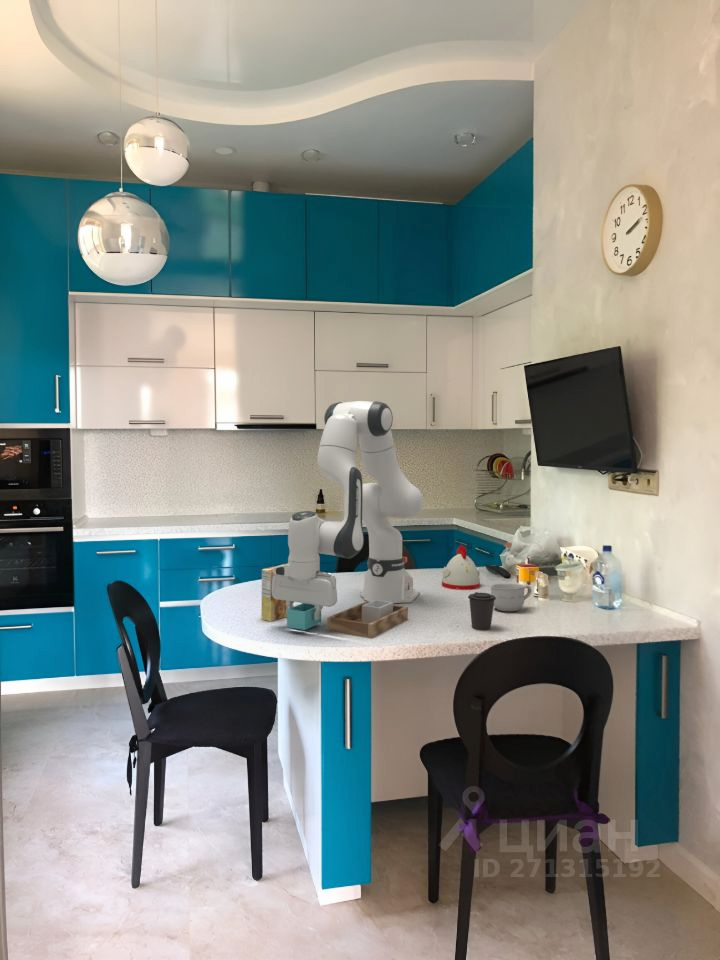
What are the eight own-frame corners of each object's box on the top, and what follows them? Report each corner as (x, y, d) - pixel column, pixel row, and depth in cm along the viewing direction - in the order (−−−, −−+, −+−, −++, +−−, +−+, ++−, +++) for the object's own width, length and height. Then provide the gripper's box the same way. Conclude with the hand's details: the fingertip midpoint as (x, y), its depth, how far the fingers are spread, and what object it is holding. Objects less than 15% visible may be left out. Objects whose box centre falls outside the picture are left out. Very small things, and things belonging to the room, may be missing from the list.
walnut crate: (366, 615, 225) (366, 601, 224) (407, 621, 218) (407, 607, 218) (327, 633, 205) (327, 617, 204) (371, 641, 198) (371, 624, 198)
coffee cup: (470, 622, 218) (471, 589, 217) (498, 625, 215) (498, 592, 214) (464, 629, 210) (464, 595, 210) (492, 632, 207) (492, 598, 207)
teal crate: (303, 619, 212) (303, 602, 212) (321, 622, 209) (321, 605, 209) (286, 627, 205) (286, 609, 204) (304, 630, 202) (304, 612, 202)
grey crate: (375, 616, 221) (375, 599, 221) (392, 618, 218) (393, 602, 218) (361, 622, 214) (361, 605, 213) (379, 625, 211) (380, 608, 211)
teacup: (496, 614, 228) (497, 589, 228) (485, 606, 239) (485, 581, 239) (539, 613, 231) (539, 588, 230) (526, 604, 241) (526, 581, 241)
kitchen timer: (449, 590, 261) (450, 549, 260) (436, 582, 275) (437, 543, 274) (485, 589, 265) (486, 548, 264) (471, 581, 278) (472, 542, 277)
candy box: (280, 613, 226) (280, 564, 225) (290, 616, 223) (291, 566, 222) (260, 619, 219) (260, 569, 217) (271, 622, 216) (271, 570, 215)
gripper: (341, 571, 204) (341, 620, 205) (281, 564, 213) (281, 610, 215) (329, 575, 198) (329, 625, 199) (268, 568, 208) (268, 615, 209)
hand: (304, 617), depth 207 cm, fingers closed on teal crate, 6 cm apart
